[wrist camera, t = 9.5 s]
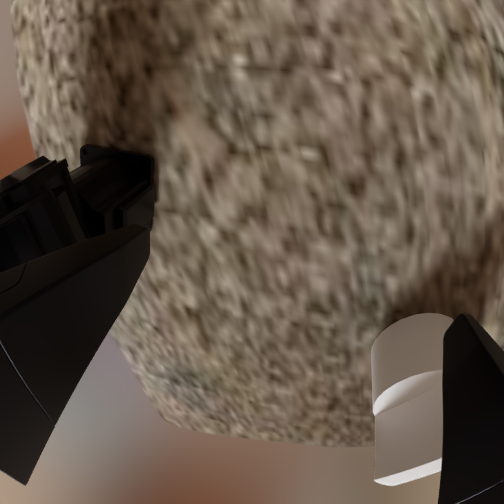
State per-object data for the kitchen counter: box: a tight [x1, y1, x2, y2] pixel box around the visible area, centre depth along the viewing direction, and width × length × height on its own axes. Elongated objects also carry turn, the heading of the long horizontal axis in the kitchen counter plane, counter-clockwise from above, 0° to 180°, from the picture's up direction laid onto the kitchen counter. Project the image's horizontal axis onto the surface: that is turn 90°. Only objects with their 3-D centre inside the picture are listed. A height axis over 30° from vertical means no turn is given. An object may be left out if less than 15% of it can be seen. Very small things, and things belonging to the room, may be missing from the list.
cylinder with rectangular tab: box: [371, 313, 454, 486], centre depth 21 cm, size 9×9×12 cm
